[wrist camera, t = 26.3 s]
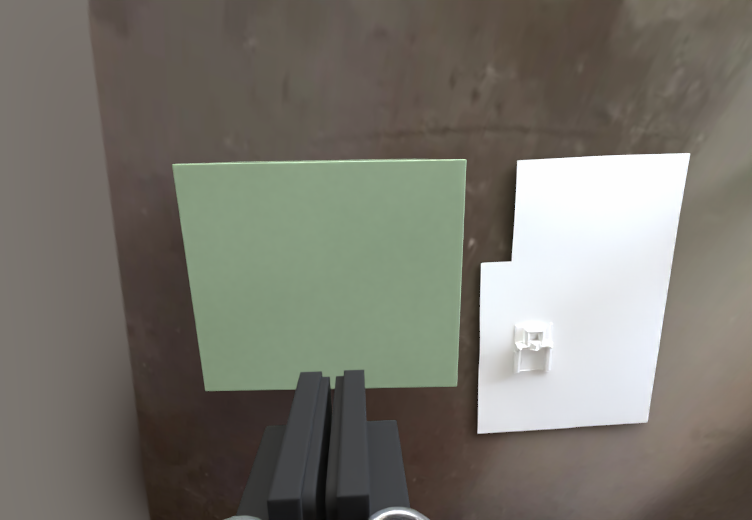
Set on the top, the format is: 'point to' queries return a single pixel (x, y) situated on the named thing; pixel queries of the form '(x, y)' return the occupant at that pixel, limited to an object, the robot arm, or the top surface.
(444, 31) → the top surface
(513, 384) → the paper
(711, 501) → the top surface
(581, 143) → the top surface
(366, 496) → the robot arm
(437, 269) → the bin lid
